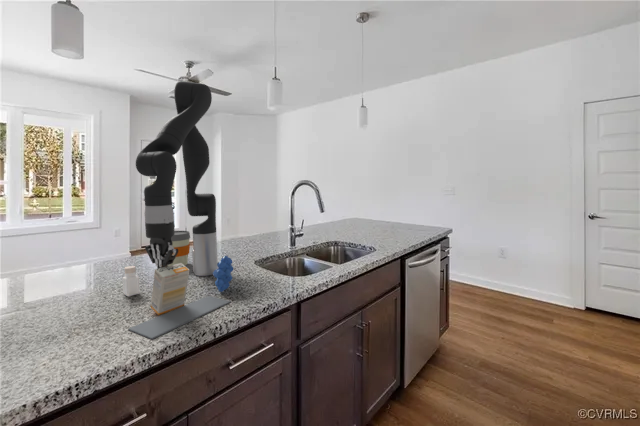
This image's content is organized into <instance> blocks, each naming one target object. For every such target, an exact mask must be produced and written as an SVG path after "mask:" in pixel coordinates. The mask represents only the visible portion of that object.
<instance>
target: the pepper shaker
mask: <svg viewBox="0 0 640 426" xmlns="http://www.w3.org/2000/svg"><path fill="white" fill-rule="evenodd" d="M136 273H137V271H136V266H135V265H129V266H125V267H124V274H125V276H123V277H122V288H123V289H122V290H123V294H124V295H125V296H127V297H133V296H136V295H139V294H140V293H141V291H140V277H139V275H137V274H136Z"/></svg>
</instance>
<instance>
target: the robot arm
mask: <svg viewBox="0 0 640 426" xmlns="http://www.w3.org/2000/svg"><path fill="white" fill-rule="evenodd" d="M173 91H174V92H173V93H174V101H175V108H176V113H177V115H175V116H173V117H171V118H169V119H168V120H167V121H166V122H165V123H164V124H163V125H162V127H161V129H160V131H159V132H158V134H157V135H156V137H155V138H154V139H153V140H151V141H150V142H149V143H148V144H147V145H145V147H144V148H142V149H141V151H140V152H139V153H138V154H137V156H136V158H135V168H136V170H137V172H138V173H139V174H140V175H142V176H144V177H156V179H155V181H154V182H153V184H149V185H147V186H145V187H144V190H143V191H144V192H143V193H144V194H143V195H144V196H143V197H144V198H143V199H144V226H145V229H144V230H145V237H146V238H147V239H149V245H146V246H145V247H144V249H145V252H146V253H147V255H148V257H149V259H150V262H151V263H152V264H155V266H156V267H157V268H156V269H158V268H162V267H167V266H168V265H169V264H172V263H173V261H174V259H175V257H176V255H177V253H178V249H174V248H173V246H172V245H173V243H172V240H171V237H172V236H174V234H175V231H176V230H175V215H174V208H173V197H172V196H173V195H172V190H173V186H174V182H175V177H176V172H177V161H176V158H175V156H174V155H176V154H177V153H178V152H179V151H180V149H181V148H182V149H181V150H182V159H183V160H182V161H183V168H184V175H185V182H186V183H185V184H186V185H185V186H186V187H185V188H186V205H187V207H186V208H187V212H188V214H189V216H191V217H207V218H206V219H205V220H204V221H202V222H201V223H200V222H199V223H197V224H195V225H193V226H192V242H193V244H192V246H193V250H191V255H192V259H191V260H192V273H193V274H194V275H196V276H198V277H199V276H200V277H204V276H207V277H208V276H212V275H213V272H214V271H215V270H216V269H218V266H217V264H218V262H219V261H218V239H217V237H218V236H217V219H216V217H217V216H216V215H217V211H216V210H217V199H216V196H215V194H213V193H196V190H197V187H198V185H199V182H200V181H201V179H202V177H203V176H204V175H205V173H206V172H207V170H208V169H209V166H210V163H211V162H210V149H209V145H208V143H207V141H206V139H205V138H204V136H203V134H202V133H201V132H200V131H199V129H198V128H197V124H198V123H199V121H200V120H201V119H202V118H203V117H204V115H206V114H207V111H208V110H209V109H210V107H211V105H212V101H213V99H212V97H213V96H212V92H211V89H210V86H209V85H206V84H204V83H199V82H192V81H186V80H184V81H183V80H179V81H177V82H176V84H175V86H174V90H173ZM213 276H214V275H213Z"/></svg>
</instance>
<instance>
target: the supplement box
mask: <svg viewBox="0 0 640 426" xmlns="http://www.w3.org/2000/svg"><path fill="white" fill-rule="evenodd" d="M189 277H190V268H189V267H187V265H185V266H184V265H183V264H182V263H179V264H175V265H171V266H167V267H162V268H158V269H157V268H155V269H154V273H153V281H152V291H151V300H150V308H151V309H152V311H154V312H155V314H156V315H158V316H160V315H163V314H165V313H167V312H170V311H172V310H175V309H177V308H180V307H182V306H184V305H185V301H186V295H187V289H188V283H189Z"/></svg>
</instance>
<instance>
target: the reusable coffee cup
mask: <svg viewBox="0 0 640 426" xmlns="http://www.w3.org/2000/svg"><path fill="white" fill-rule="evenodd" d="M174 231H175V234H174V236H172V237H171V240H172V243H173V245H172V246H173V248H174V249H178V253H177V255H176V257H175V259H174V261H173V263H172V264H169V265H168V266H171V265H175V264H179V263H182V264H183V265H184V266H187V265H188V260H189V254H190V248H191V243H190V239H191V234H190V231H189V230H174Z"/></svg>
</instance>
